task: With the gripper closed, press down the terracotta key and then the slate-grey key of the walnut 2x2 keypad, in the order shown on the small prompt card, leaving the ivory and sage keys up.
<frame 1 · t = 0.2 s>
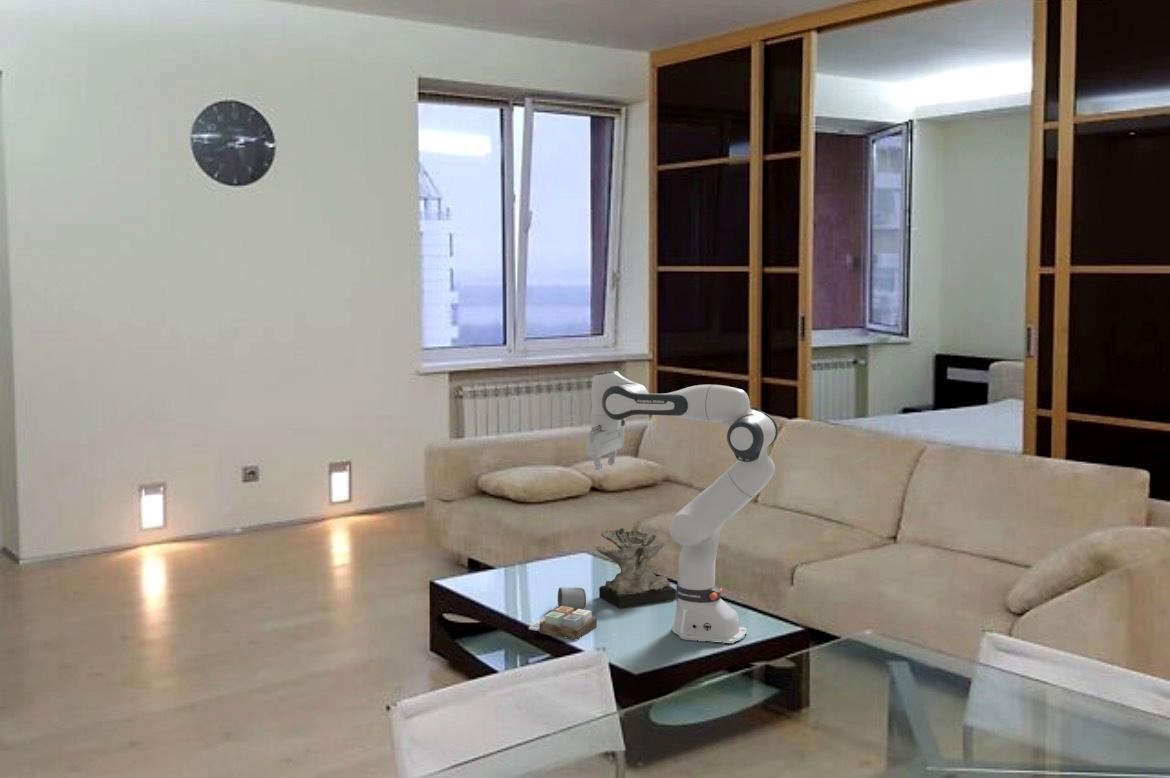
hand: (605, 467, 358), 47 cm above the table, tool pointing down, fingers open, 8 cm apart
key ivory: (581, 617, 351), point 4 cm above the table, slide at 0.0 cm
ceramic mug: (569, 609, 370), on the table
prompt card: (540, 625, 355), on the table
key sage: (554, 619, 348), point 4 cm above the table, slide at 0.0 cm
key slate: (572, 623, 346), point 4 cm above the table, slide at 0.0 cm
coral: (629, 597, 384), on the table
key terracotta: (564, 614, 354), point 4 cm above the table, slide at 0.0 cm
keypad base: (568, 630, 350), on the table
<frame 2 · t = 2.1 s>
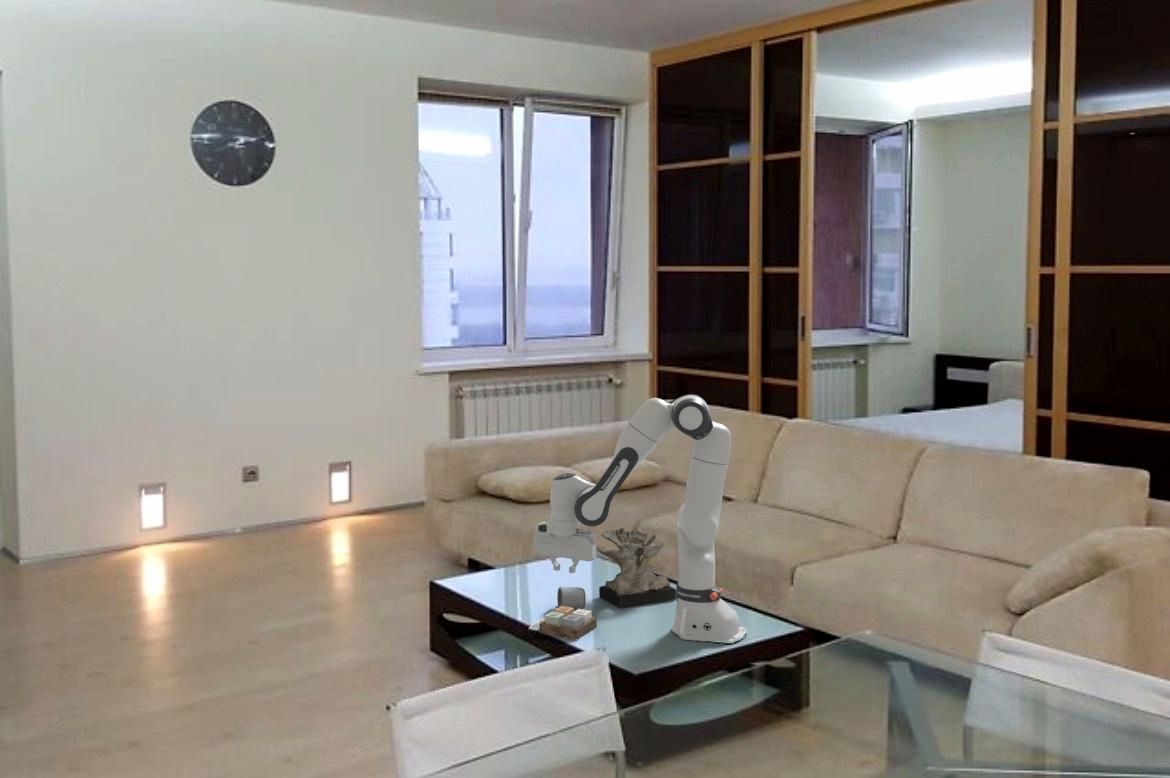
hand: (564, 571, 352), 17 cm above the table, tool pointing down, fingers open, 4 cm apart
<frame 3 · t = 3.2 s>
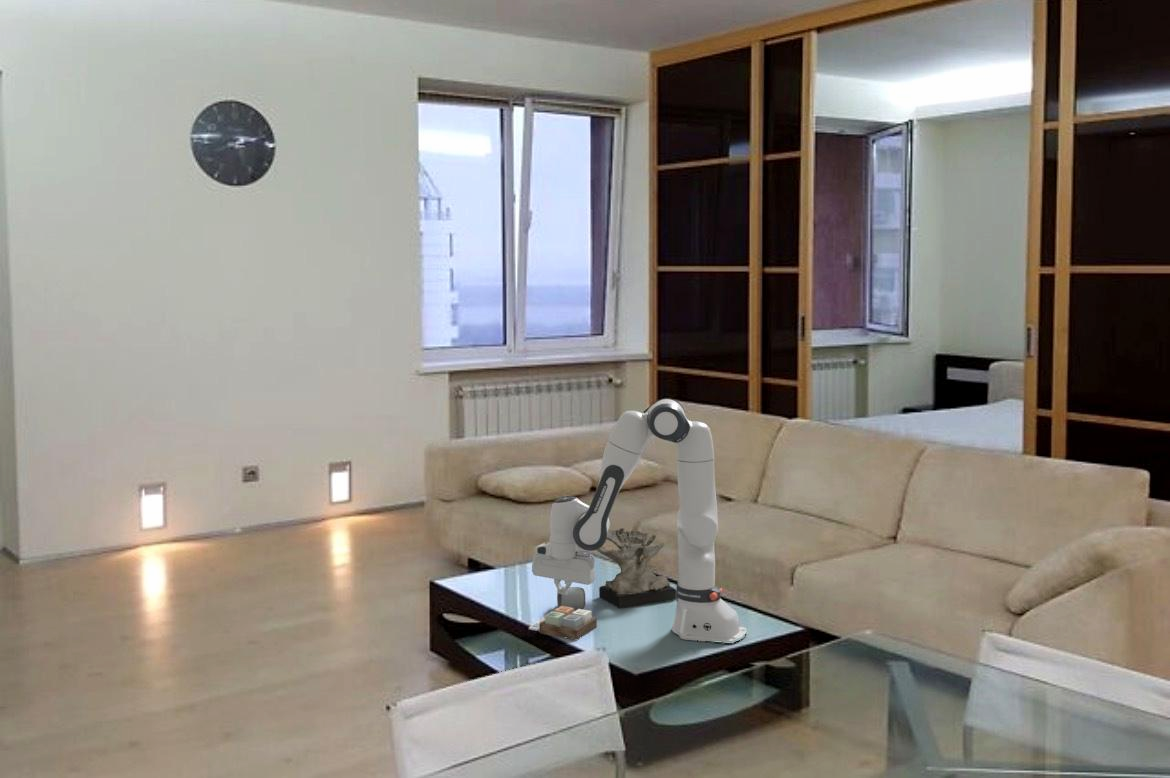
hand: (562, 593, 353), 10 cm above the table, tool pointing down, fingers closed
nothing on the table moved.
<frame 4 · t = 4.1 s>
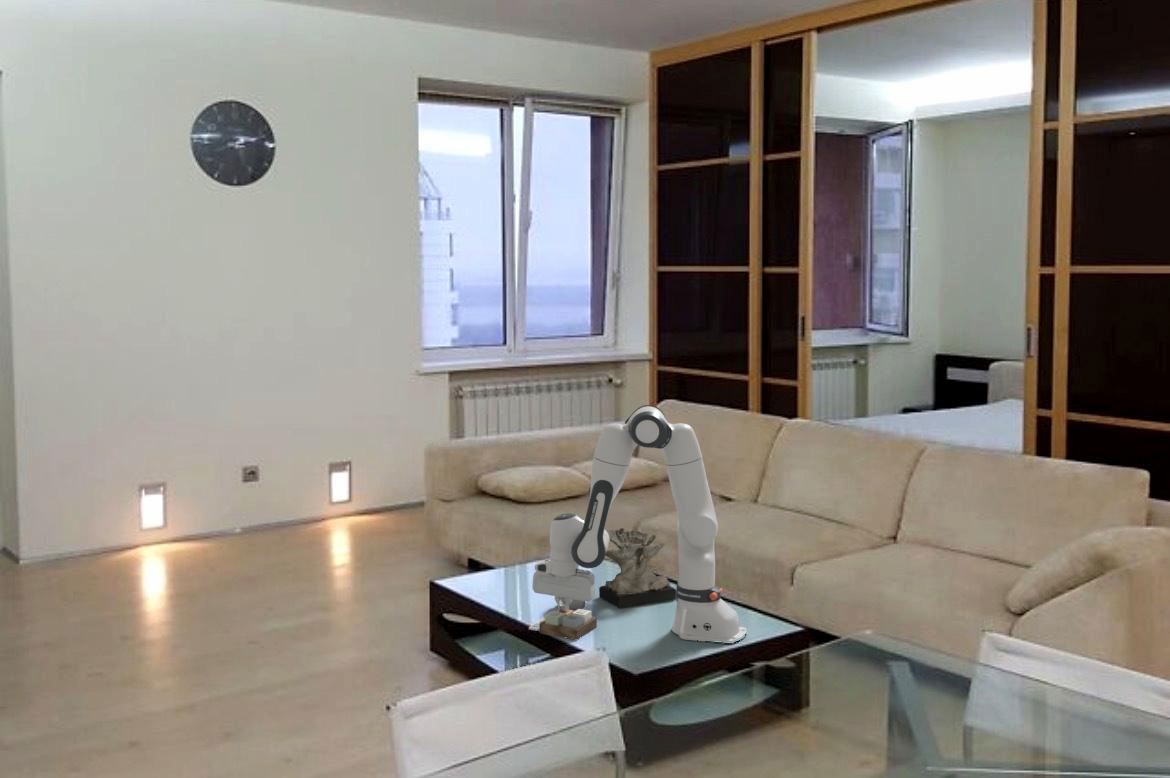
hand: (563, 610, 354), 5 cm above the table, tool pointing down, fingers closed
key terracotta: (564, 616, 354), point 3 cm above the table, slide at 0.8 cm, touching gripper
everything else where it was.
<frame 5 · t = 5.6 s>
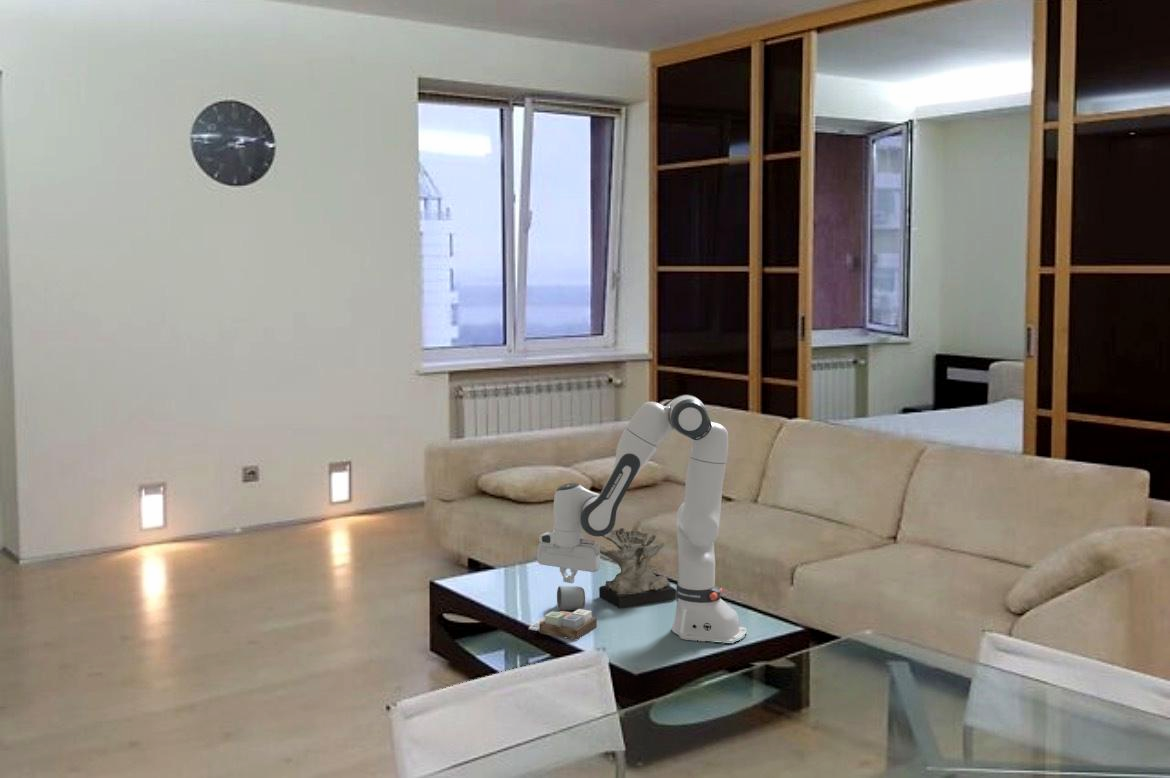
hand: (568, 582, 349), 15 cm above the table, tool pointing down, fingers closed
key terracotta: (564, 619, 354), point 2 cm above the table, slide at 1.6 cm
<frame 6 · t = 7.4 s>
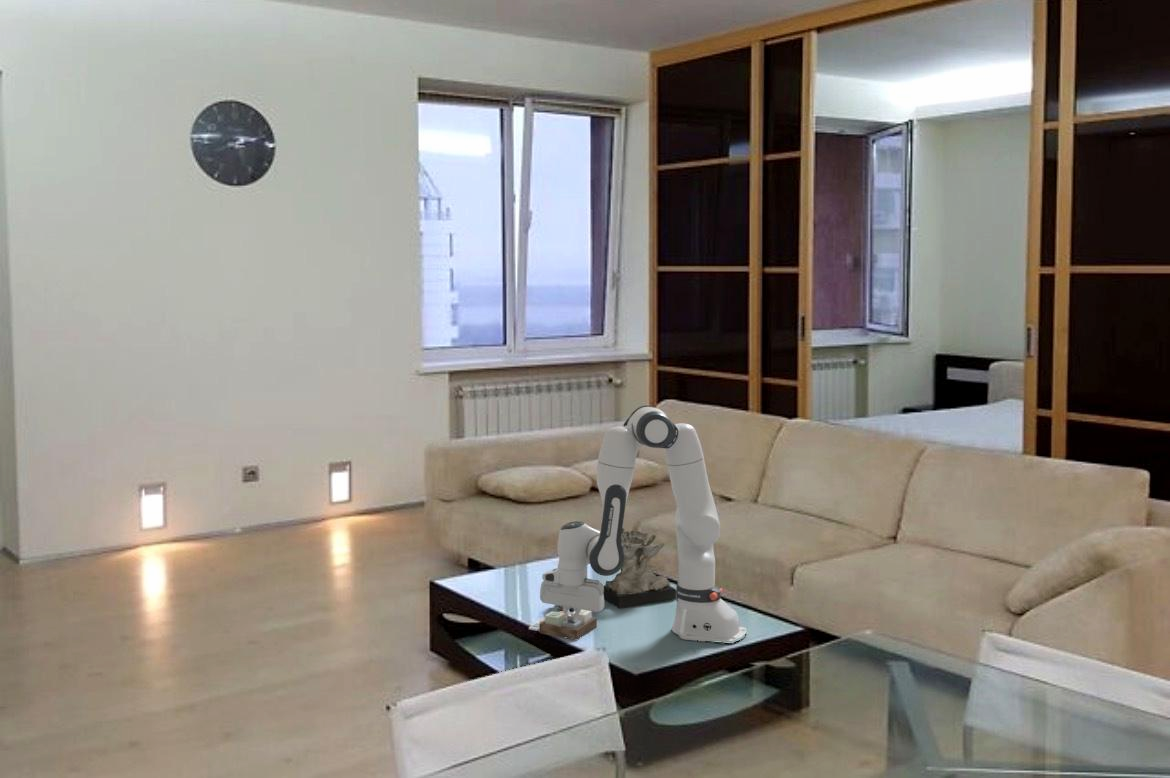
hand: (571, 621, 346), 4 cm above the table, tool pointing down, fingers closed, pressing on key slate
key slate: (572, 627, 346), point 2 cm above the table, slide at 1.4 cm, touching gripper
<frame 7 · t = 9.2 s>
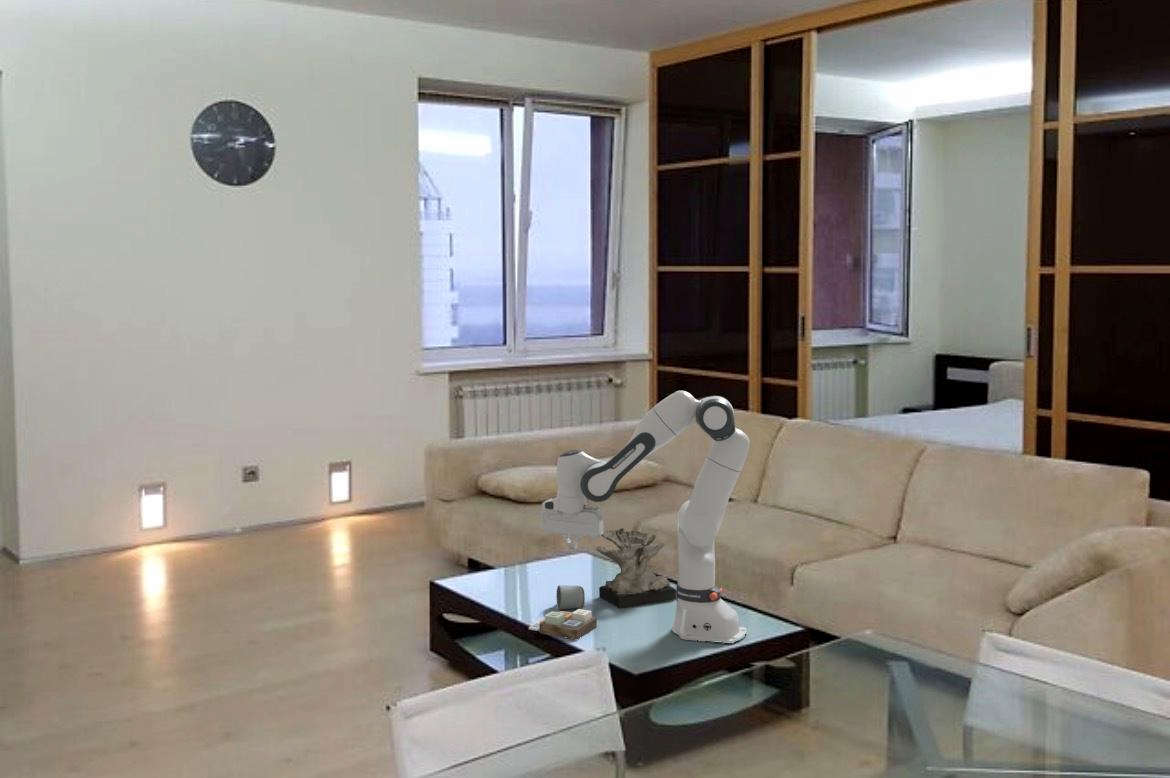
hand: (572, 548, 352), 24 cm above the table, tool pointing down, fingers closed
key slate: (572, 628, 346), point 2 cm above the table, slide at 1.6 cm
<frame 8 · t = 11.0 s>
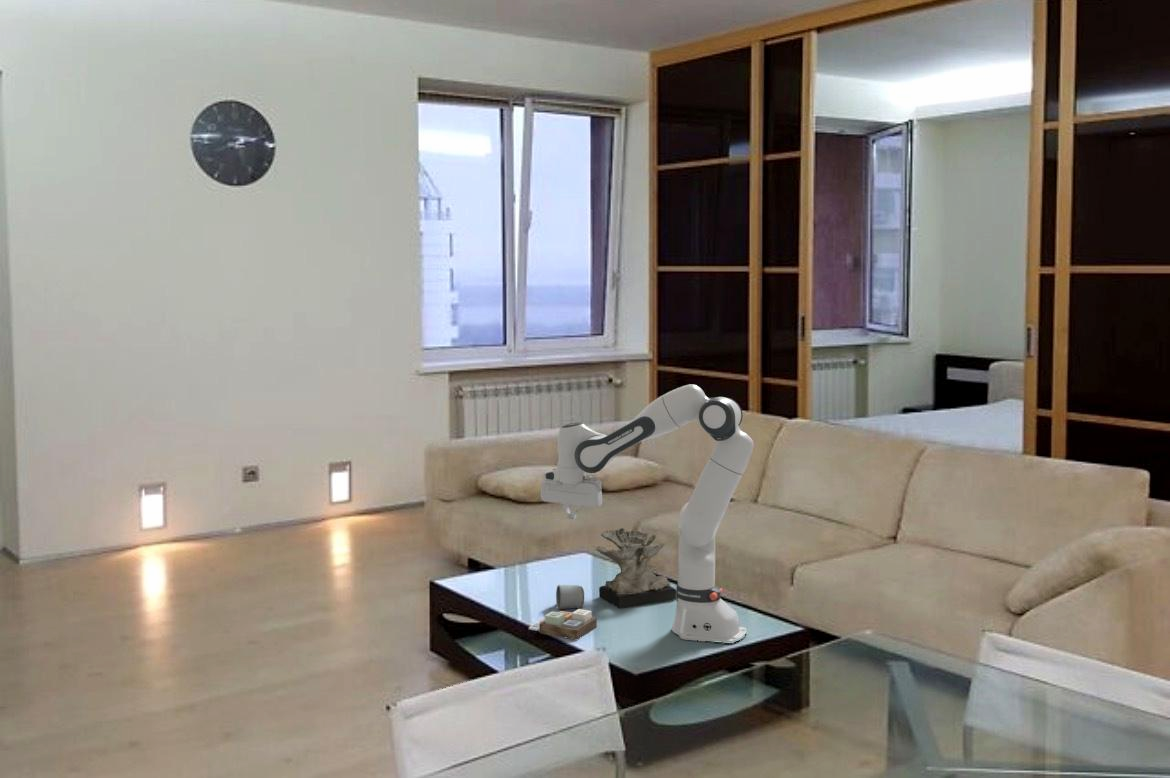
hand: (571, 518, 360), 31 cm above the table, tool pointing down, fingers closed
at the end: key terracotta slide at 1.6 cm; key slate slide at 1.6 cm; key sage slide at 0.0 cm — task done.
